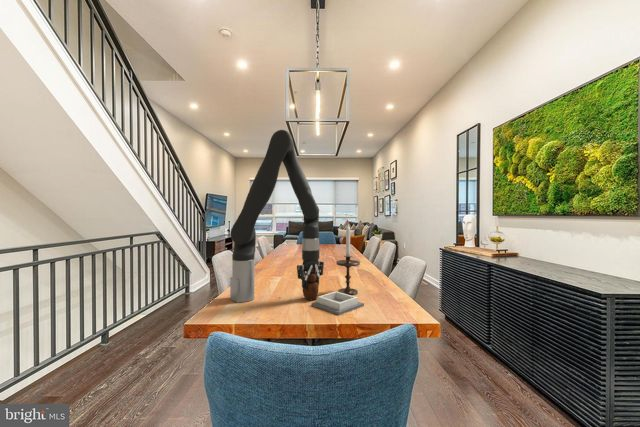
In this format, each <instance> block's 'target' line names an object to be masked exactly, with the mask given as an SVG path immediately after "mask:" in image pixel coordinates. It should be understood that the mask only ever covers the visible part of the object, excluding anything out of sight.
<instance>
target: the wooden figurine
mask: <svg viewBox="0 0 640 427" xmlns="http://www.w3.org/2000/svg"><path fill="white" fill-rule="evenodd" d="M315 281H316V274H315V268H314V271H313V272H311V273H310V274H309V276H308V277H307V289H303V288H302V294H303V298H304V299H305V300H308V301H313V300H316V299H318V294H319V286H318V284H317V282H315Z"/></svg>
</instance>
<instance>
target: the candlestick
mask: <svg viewBox="0 0 640 427" xmlns="http://www.w3.org/2000/svg"><path fill="white" fill-rule="evenodd" d="M346 223H347V227H345V255H344V256H343V257H344V258H345V259H339V260H336V262H335V263H336V265H337V266H340V267H345V268H346V274H345V275H344V278H345V282H344V283H345V285H346V286H345V287H344V288H339V289H338V290H337V292H340V293H344V294H347V295H351V296H355V295H357V294H358V292H359V291H358V290H357V289H356V288H351V286H350V284H351V281H350V279H351V278H352V276H351V275H350V268H351V267H357V266H360V261H359V260H355V259H351V258H352V257H353V255H351V227H350V222H349V219H348V218H346Z"/></svg>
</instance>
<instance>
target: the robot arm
mask: <svg viewBox="0 0 640 427" xmlns="http://www.w3.org/2000/svg"><path fill="white" fill-rule="evenodd" d="M294 144H295V143H294V139H293V136H292V135H291V133H290V132H288V131H287V130H285V129H280V130H279V129H278V130H277V131H275V132H273V134H272V136H271V137H270V140H269V143H268V145H267V146H268V147H267V150H266V153H265V156H264V159H263V160H262V163H261V164H260V166H259V168H258V170H257V173H256V175H255V177H254V179H253V180H252V181H253V182H252V183H251V186H250V188H249V191H248V193H247V196H246V198H245V200H244V203H243V207H242V209H241V212H240V213H239V215H238V216H237V219H236V220H235V222H234V224H232V227H231V230H230V238H231V240H232V242H234V247H233V250H232V258H231V260H232V262H231V263H232V264H231V265H232V268H231V269H232V270H231V271H232V275H231V277H230V278H229V280H230V281H229V282H230V300H231V301H233V302H235V303H246V302H250V301H253V300H254V299H255V254H256V245H257V244H256V240H257V238H256V236H257V235H256V229H255V226H256V224H257V221H258V218H259V217H260V214H261V213H262V211H263V210H264V208H265V207H266V205H267V203H268V202H269V201H270V198H271V196H272V194H273V191H274V190H275V187H276V185H277V181H278V177H279V173H280V167H281V165H282V164H283V165H284V167H285V170H286V173H287V176H288V180H289V183H290V184H291V188H292V189H293V192H294V194H295V197H296V198H297V201H298V204H299V208H300V211H301V212H302V214H303V227H302V240H301V241H302V243H301V260H302V264H296V272H297V273H296V274H297V279H299V280H301V288H302V290H303V289H307V277H308V276H309V274H310V273H311V272H313V271H314V268H315V274H316V281H315V282H317V284H318V287H319V286H320V277H321V276H323V275H324V268H325V262H324V261H320V233H319V232H320V228H319V220H320V218H319V217H320V208H319V206H318V204H317V202H316V200H315V197H314V196H313V193H312V189H311V187H310V184H309V181H308V180H307V177H306V176H305V173H304V171H303V169H302V167H301V165H300V163H299V161H298V158H297V154H296V150H295V145H294Z"/></svg>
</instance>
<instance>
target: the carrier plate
mask: <svg viewBox="0 0 640 427" xmlns="http://www.w3.org/2000/svg"><path fill="white" fill-rule="evenodd" d="M311 306H312V307H314V308H317V309H320V310H323V311H325V312H329V313H331V314H334V315H337V316H341V315H344V314H347V313H349V312H352V311H354V310H357V309H359V308H363V307H364V306H365V303H364V302H361V301H359V297H358V296H355V295H347V294H344V293H340V292H338V290H337V291H332V292H329V293H326V294H323V295H319V296H318V295H317V301H313V302H311Z"/></svg>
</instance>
